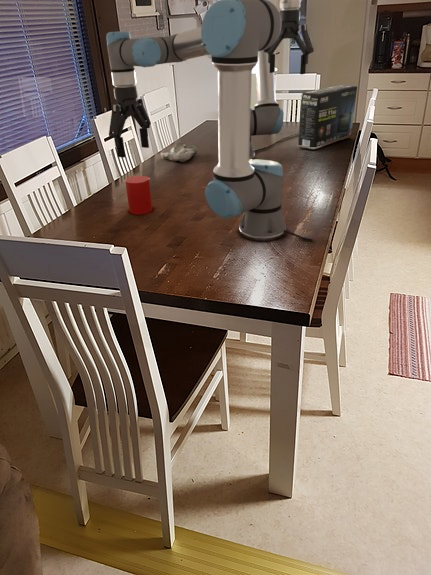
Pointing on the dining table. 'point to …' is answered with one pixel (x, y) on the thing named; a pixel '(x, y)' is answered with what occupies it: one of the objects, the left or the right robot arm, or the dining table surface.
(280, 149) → the dining table surface
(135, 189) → the canister
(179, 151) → the fossil
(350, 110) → the router box
